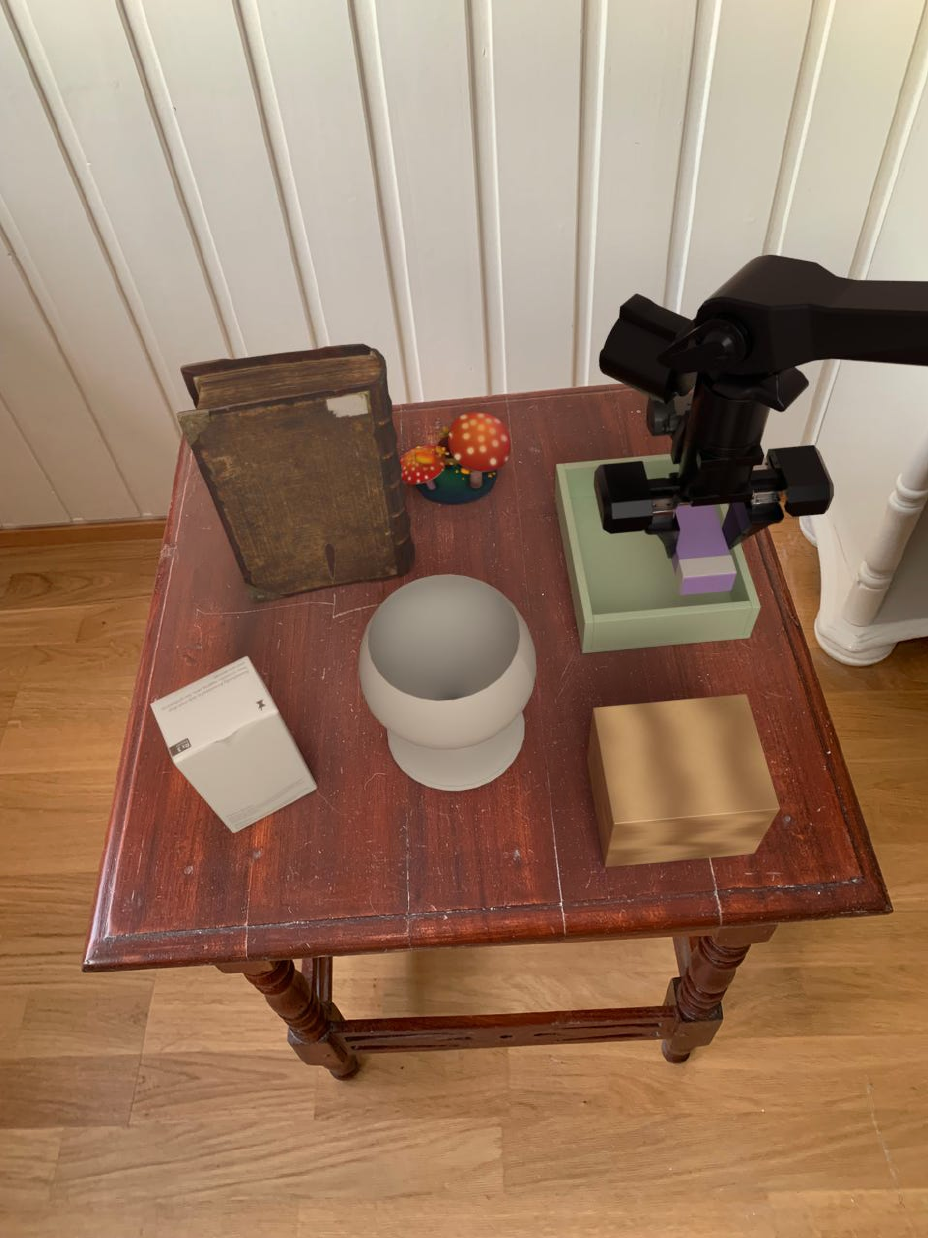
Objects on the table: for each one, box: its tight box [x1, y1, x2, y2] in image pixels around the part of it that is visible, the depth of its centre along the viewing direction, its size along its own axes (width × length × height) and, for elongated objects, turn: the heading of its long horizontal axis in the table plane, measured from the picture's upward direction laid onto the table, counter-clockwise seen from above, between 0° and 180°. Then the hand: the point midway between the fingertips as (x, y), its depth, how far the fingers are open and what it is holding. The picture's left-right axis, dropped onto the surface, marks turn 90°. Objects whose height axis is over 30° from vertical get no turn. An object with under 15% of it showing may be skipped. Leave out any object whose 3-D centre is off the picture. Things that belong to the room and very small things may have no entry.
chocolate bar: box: [671, 505, 737, 595], centre depth 81 cm, size 5×9×2 cm, turn 4°
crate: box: [586, 693, 781, 868], centre depth 71 cm, size 12×10×9 cm
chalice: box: [358, 573, 538, 792], centre depth 74 cm, size 14×14×15 cm
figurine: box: [399, 411, 512, 505], centre depth 94 cm, size 12×9×8 cm
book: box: [176, 343, 416, 603], centre depth 81 cm, size 17×7×25 cm, turn 93°
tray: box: [554, 453, 762, 654], centre depth 87 cm, size 16×20×5 cm
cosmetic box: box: [149, 655, 318, 834], centre depth 71 cm, size 8×6×15 cm
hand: (695, 552), depth 82 cm, fingers closed on chocolate bar, 4 cm apart
